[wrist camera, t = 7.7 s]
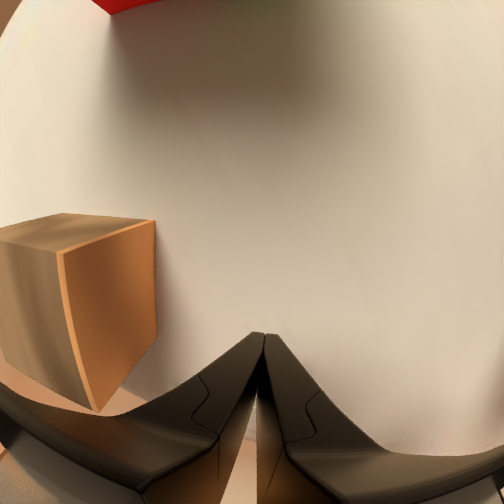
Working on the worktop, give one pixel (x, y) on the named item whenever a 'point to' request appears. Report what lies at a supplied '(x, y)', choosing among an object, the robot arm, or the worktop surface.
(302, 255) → the worktop surface
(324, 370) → the worktop surface
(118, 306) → the walnut cube
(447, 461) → the robot arm
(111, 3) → the puzzle toy
